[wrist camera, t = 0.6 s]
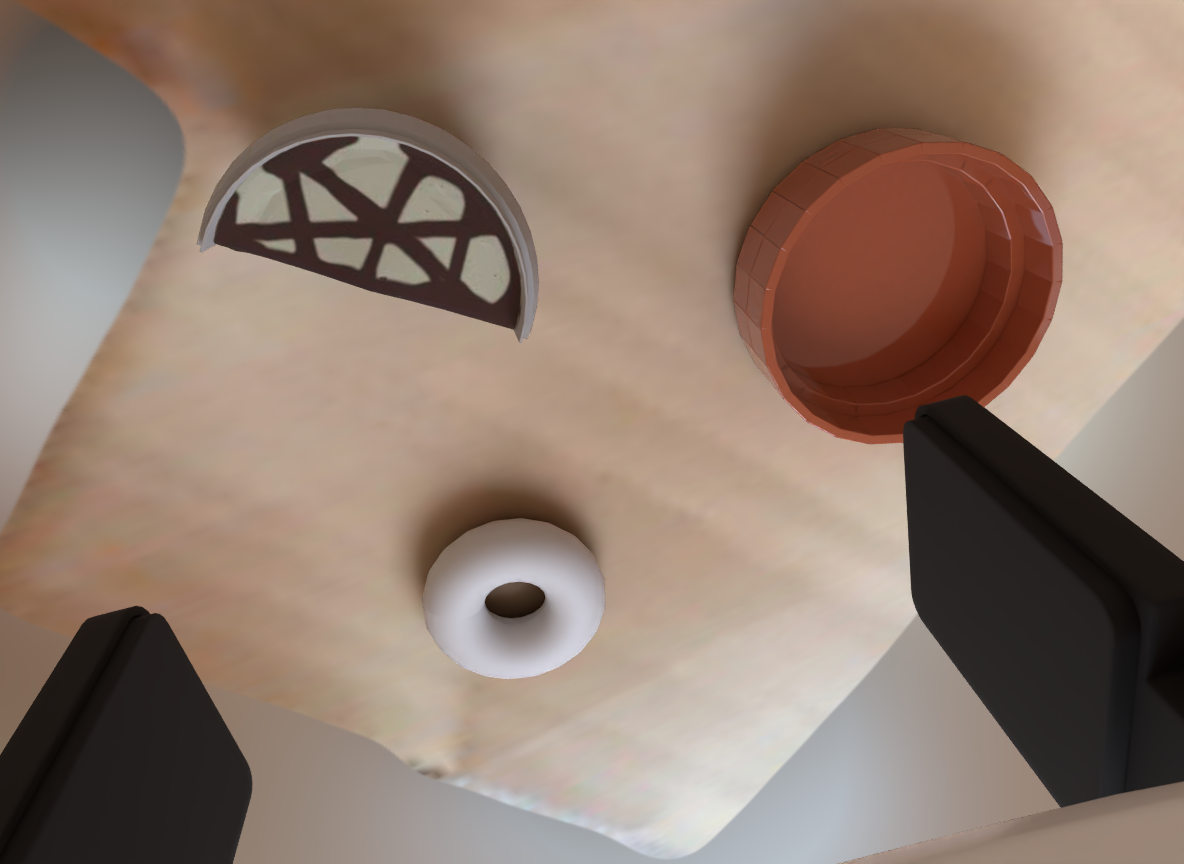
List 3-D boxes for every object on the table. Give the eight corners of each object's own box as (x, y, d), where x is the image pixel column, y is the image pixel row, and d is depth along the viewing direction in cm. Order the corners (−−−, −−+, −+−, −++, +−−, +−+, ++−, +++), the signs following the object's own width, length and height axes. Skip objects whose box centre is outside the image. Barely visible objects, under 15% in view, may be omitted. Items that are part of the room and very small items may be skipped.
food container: (561, 143, 38) (590, 185, 30) (519, 272, 41) (535, 347, 32) (276, 42, 35) (213, 56, 26) (249, 189, 38) (182, 247, 29)
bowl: (707, 174, 40) (737, 195, 35) (997, 90, 40) (1064, 101, 35) (755, 432, 46) (785, 477, 42) (1004, 360, 46) (1062, 397, 42)
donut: (615, 626, 51) (582, 487, 46) (625, 667, 48) (591, 522, 43) (450, 666, 51) (400, 530, 46) (450, 710, 48) (396, 569, 43)
